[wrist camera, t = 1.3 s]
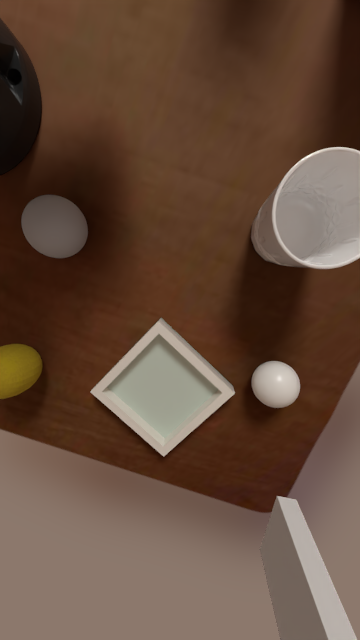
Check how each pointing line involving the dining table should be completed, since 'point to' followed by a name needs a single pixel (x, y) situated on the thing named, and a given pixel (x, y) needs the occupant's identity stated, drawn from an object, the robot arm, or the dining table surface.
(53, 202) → the grey rubber ball
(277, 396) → the white plastic ball
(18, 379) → the lemon
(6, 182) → the dining table surface
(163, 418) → the square dish
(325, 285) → the dining table surface
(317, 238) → the white cup
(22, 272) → the dining table surface
